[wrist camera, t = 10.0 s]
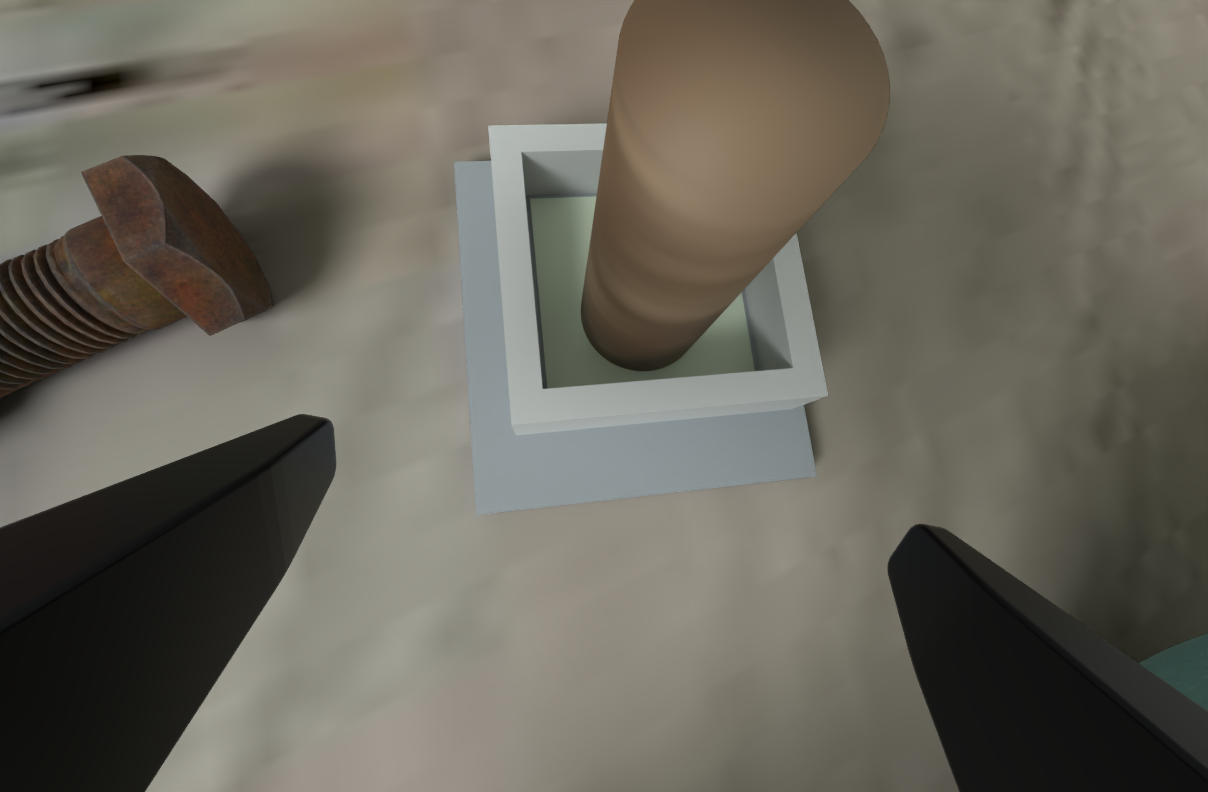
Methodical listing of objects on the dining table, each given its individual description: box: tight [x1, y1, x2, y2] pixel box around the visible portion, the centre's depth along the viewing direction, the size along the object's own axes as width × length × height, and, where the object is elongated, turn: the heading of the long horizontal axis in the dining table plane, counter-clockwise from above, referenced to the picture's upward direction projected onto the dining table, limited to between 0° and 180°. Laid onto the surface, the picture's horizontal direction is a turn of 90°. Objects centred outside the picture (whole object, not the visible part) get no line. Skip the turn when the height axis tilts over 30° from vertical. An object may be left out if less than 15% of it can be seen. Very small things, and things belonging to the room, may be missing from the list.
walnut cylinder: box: [581, 0, 890, 371], centre depth 13 cm, size 4×4×11 cm
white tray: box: [454, 124, 828, 515], centre depth 18 cm, size 13×12×4 cm
